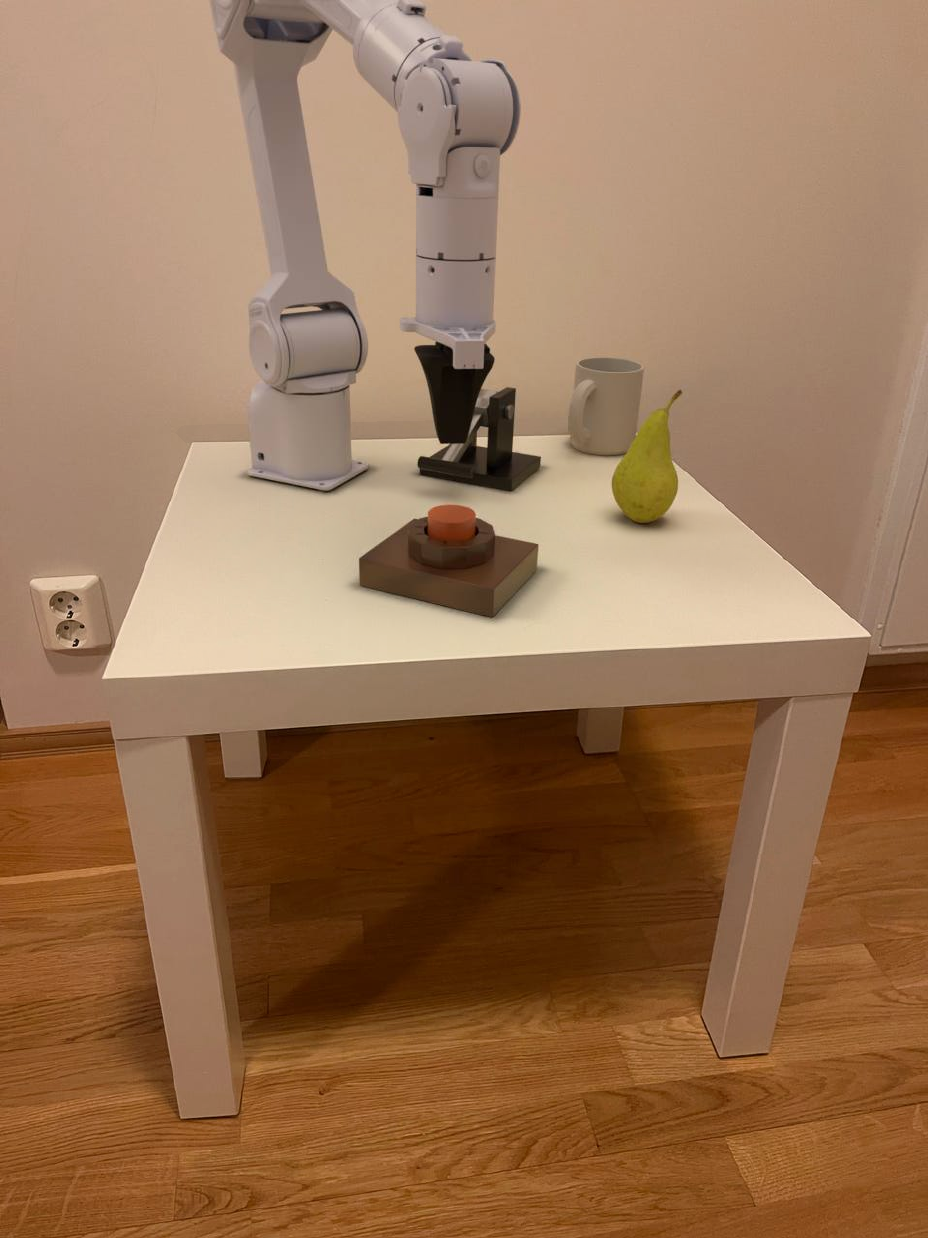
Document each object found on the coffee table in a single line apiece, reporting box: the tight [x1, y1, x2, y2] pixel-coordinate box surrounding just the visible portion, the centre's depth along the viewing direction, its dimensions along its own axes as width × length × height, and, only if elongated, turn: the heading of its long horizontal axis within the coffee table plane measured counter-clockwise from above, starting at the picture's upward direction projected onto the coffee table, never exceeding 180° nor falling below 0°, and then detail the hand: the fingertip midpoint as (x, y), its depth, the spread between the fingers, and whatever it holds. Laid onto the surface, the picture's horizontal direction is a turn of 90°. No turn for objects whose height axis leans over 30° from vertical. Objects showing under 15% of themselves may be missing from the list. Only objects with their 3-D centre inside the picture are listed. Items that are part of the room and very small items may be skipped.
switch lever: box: [416, 388, 498, 478], centre depth 87 cm, size 11×6×2 cm, turn 156°
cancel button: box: [427, 504, 477, 541], centre depth 68 cm, size 4×4×2 cm
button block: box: [358, 516, 540, 618], centre depth 69 cm, size 11×9×4 cm
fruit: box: [611, 389, 683, 524], centre depth 79 cm, size 6×6×12 cm
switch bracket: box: [419, 386, 542, 492], centre depth 91 cm, size 8×10×8 cm
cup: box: [567, 356, 645, 456], centre depth 98 cm, size 7×10×9 cm
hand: (451, 441), depth 71 cm, fingers closed
